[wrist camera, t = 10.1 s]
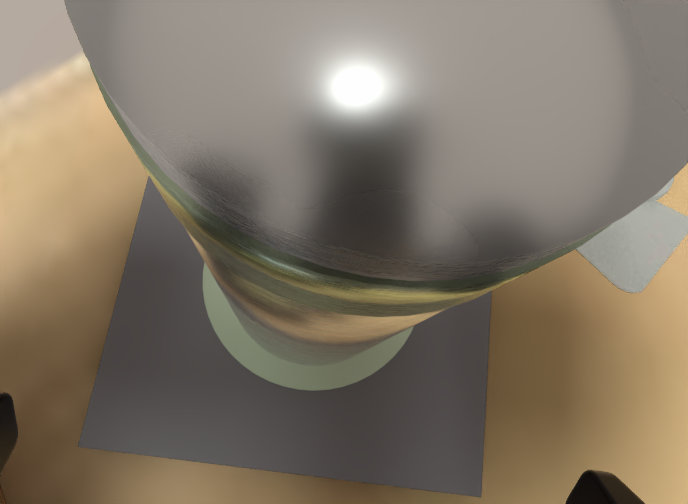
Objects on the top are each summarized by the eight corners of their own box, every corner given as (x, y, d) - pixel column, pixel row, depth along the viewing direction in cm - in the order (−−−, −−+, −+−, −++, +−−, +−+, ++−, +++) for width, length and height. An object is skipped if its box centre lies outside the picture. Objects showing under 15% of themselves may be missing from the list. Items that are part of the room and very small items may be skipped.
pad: (469, 491, 16) (482, 498, 15) (90, 443, 16) (76, 447, 14) (488, 158, 20) (499, 144, 19) (177, 102, 19) (171, 85, 18)
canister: (434, 266, 17) (834, -70, 5) (331, 405, 16) (528, 451, 3) (302, 165, 18) (353, -385, 5) (189, 291, 16) (-133, -69, 4)
